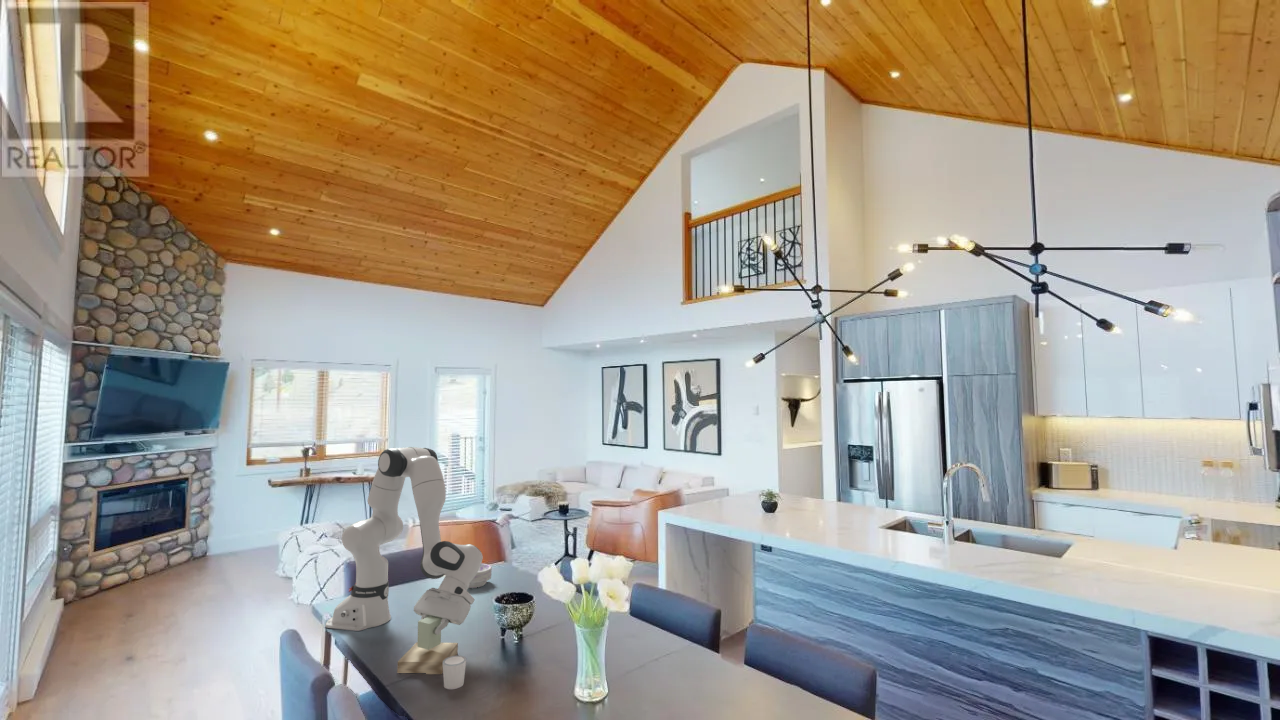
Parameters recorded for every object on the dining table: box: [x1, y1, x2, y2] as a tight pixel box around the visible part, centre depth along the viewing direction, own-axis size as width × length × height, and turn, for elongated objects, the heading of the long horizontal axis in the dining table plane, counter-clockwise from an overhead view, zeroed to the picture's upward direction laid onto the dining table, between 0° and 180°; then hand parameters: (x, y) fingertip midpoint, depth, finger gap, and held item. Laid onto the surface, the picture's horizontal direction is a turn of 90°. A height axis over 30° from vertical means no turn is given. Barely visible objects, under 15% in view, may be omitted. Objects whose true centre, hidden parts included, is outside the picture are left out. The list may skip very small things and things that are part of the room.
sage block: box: [417, 616, 442, 650], centre depth 181 cm, size 5×5×8 cm
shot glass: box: [442, 654, 467, 690], centre depth 167 cm, size 7×7×7 cm
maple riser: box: [396, 641, 459, 675], centre depth 180 cm, size 14×14×4 cm
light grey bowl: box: [468, 563, 492, 589], centre depth 256 cm, size 15×15×8 cm
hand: (427, 631), depth 180 cm, fingers closed on sage block, 5 cm apart
